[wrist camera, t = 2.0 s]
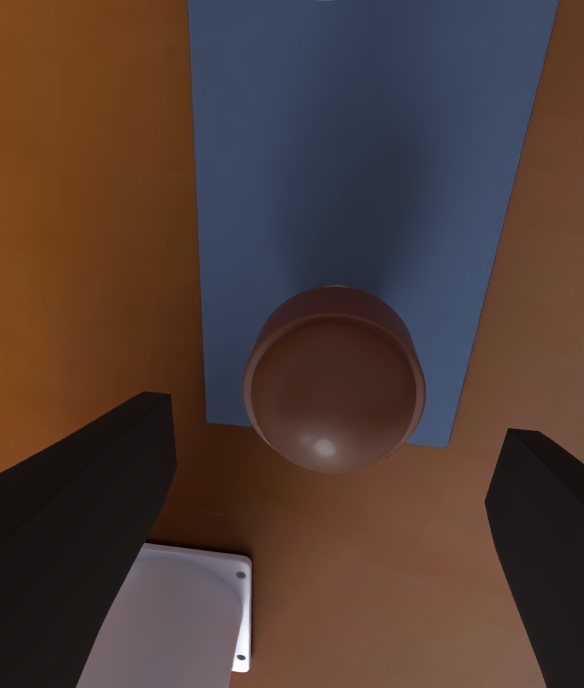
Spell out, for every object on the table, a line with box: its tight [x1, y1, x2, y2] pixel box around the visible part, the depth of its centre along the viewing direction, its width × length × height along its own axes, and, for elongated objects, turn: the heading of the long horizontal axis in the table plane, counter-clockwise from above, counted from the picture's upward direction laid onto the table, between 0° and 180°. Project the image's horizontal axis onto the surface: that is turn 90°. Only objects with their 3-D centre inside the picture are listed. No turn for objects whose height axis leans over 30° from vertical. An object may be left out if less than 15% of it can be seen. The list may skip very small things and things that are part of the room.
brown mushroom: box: [242, 285, 426, 474], centre depth 13 cm, size 5×5×7 cm
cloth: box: [188, 0, 559, 448], centre depth 14 cm, size 20×10×1 cm, turn 177°
